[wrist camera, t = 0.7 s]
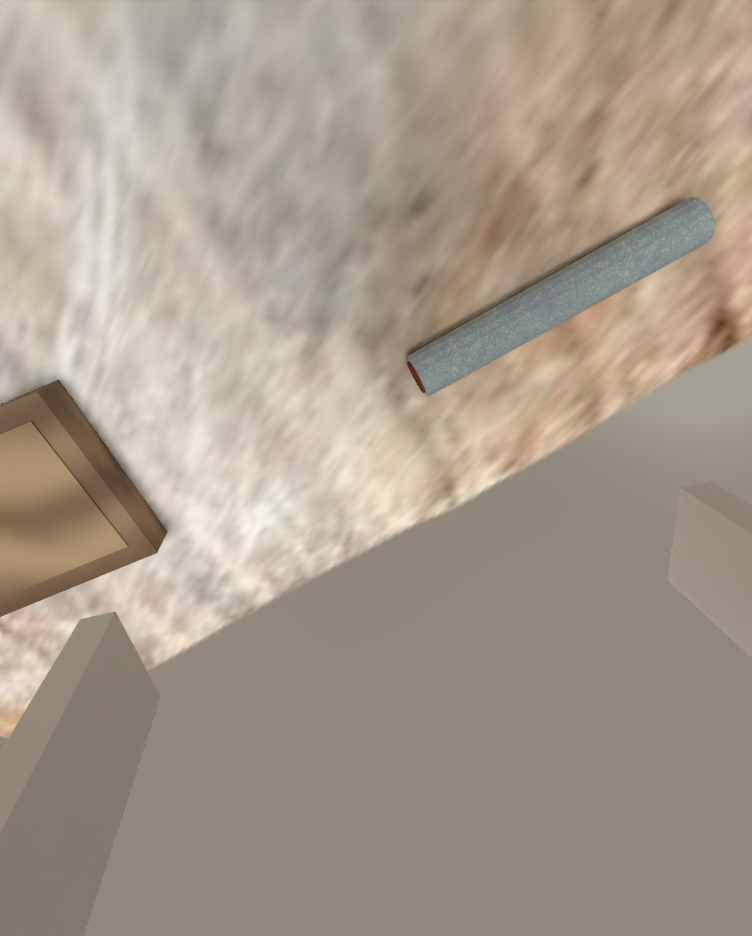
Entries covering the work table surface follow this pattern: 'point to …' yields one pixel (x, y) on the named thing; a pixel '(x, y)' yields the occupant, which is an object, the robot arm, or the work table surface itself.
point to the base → (63, 502)
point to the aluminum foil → (563, 295)
